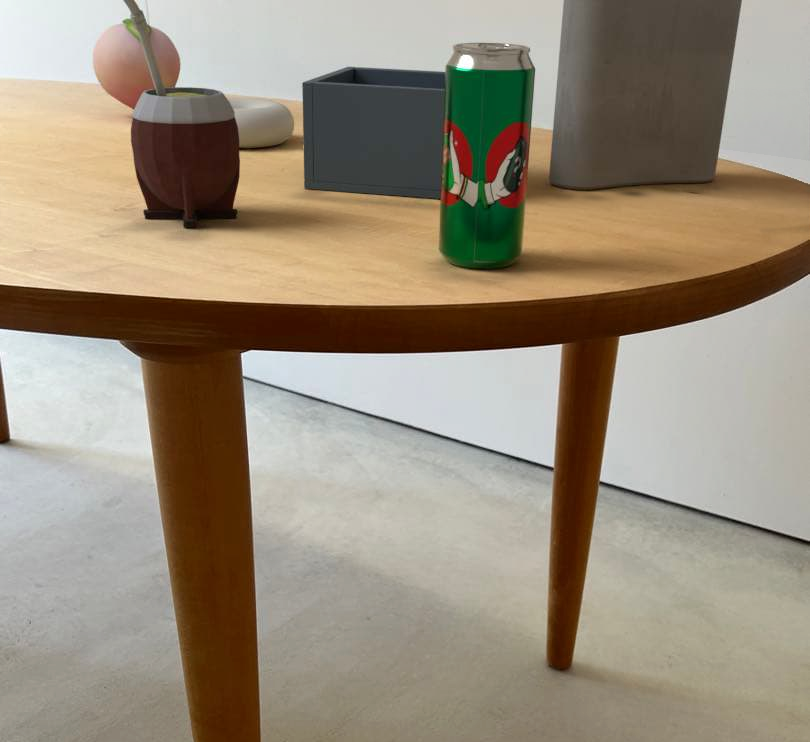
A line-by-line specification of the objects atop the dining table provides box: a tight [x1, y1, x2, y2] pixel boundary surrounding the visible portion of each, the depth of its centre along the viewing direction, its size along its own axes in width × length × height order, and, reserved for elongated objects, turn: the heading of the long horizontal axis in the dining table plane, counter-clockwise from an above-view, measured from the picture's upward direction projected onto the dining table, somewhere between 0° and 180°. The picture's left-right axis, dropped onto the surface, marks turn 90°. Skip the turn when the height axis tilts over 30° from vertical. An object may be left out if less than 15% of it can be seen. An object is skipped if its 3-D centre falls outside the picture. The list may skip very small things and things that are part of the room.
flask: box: [548, 0, 743, 191], centre depth 86 cm, size 15×6×20 cm, turn 113°
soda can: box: [438, 42, 536, 270], centre depth 65 cm, size 5×5×12 cm
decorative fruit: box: [92, 18, 181, 111], centre depth 112 cm, size 9×8×10 cm
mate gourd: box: [122, 0, 241, 229], centre depth 72 cm, size 8×8×15 cm
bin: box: [301, 66, 445, 200], centre depth 87 cm, size 12×12×8 cm
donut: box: [226, 97, 295, 149], centre depth 102 cm, size 10×4×10 cm
